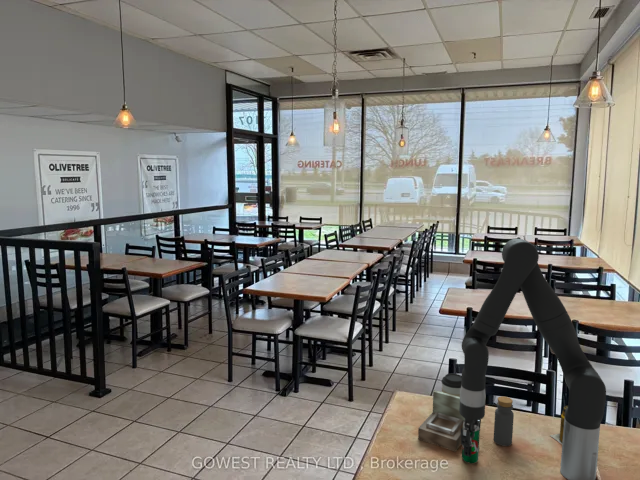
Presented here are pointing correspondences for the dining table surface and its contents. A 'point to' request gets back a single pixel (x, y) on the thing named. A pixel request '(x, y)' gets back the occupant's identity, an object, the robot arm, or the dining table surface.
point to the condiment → (560, 436)
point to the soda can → (473, 448)
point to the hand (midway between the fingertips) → (470, 450)
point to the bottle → (503, 421)
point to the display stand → (443, 422)
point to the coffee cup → (451, 384)
